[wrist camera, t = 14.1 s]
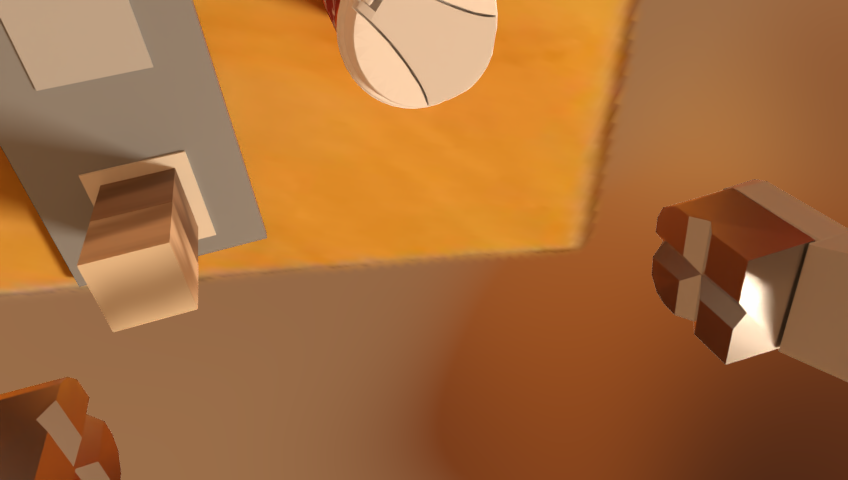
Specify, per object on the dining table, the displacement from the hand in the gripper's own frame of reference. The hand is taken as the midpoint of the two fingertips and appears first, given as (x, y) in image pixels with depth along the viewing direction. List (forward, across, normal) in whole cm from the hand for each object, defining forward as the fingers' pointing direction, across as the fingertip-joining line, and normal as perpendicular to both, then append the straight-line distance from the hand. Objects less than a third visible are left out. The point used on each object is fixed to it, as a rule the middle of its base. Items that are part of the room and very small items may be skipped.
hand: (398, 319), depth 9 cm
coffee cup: (+37, -7, +3) cm, 38 cm away
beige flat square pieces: (+37, +11, +9) cm, 40 cm away
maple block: (+31, +11, +15) cm, 36 cm away
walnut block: (+36, +11, +15) cm, 40 cm away
